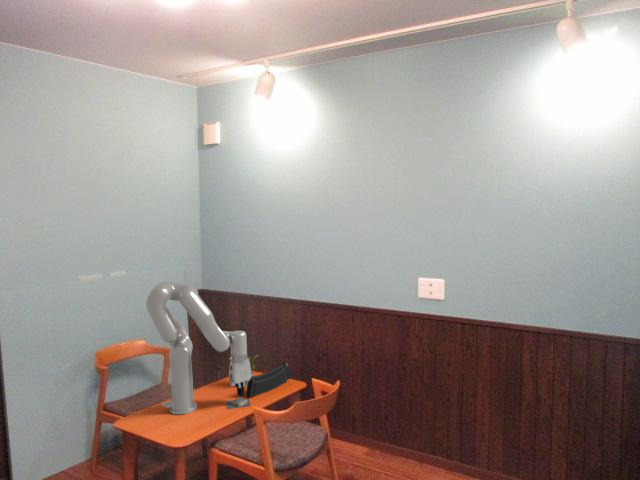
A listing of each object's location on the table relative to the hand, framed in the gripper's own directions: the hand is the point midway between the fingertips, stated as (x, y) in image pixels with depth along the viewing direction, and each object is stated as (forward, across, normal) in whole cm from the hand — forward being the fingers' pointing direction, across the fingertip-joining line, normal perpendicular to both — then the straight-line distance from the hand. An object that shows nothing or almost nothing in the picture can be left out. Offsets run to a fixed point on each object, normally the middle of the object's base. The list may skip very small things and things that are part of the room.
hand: (240, 395), depth 233 cm
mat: (+4, -1, +1) cm, 4 cm away
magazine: (+4, +21, +4) cm, 22 cm away
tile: (+3, -3, 0) cm, 4 cm away
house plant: (+4, +18, +19) cm, 27 cm away
